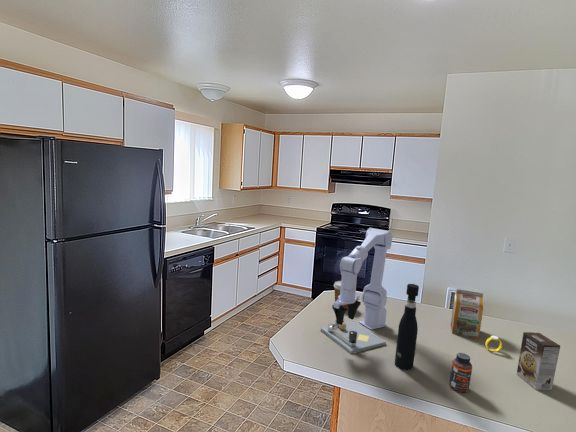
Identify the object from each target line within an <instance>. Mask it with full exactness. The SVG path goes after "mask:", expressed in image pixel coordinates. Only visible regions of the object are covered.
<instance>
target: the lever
mask: <svg viewBox="0 0 576 432" xmlns="http://www.w3.org/2000/svg"><path fill="white" fill-rule="evenodd" d="M327 327H328V329H327V330H328V331H329V332H332V333H334V334H335V335H336V336H338V337H339V338H340V339H342V340H343V341H344V342H346V343H347V344H349V345H350V346H351V347H352V346H356V341H357V332H355V331H350V332H349V336H347V335H346V334H345V333H343V332H342V331H340V330H339V329H337V325H335V324H333V323H330V324H328V325H327Z"/></svg>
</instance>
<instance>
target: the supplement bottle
mask: <svg viewBox="0 0 576 432" xmlns="http://www.w3.org/2000/svg"><path fill="white" fill-rule="evenodd" d="M472 370H473V364H472V363H471V356H470V355H469V354H467V353H464V352H457V353H456V356H455V358H453V359H452V362H451V367H450V374H449V380H448V381H449V382H448V385H449V387H450V388H451V389H453V390H454V391H456V392H459V393H467V392H469V389H470V384H471V379H472Z"/></svg>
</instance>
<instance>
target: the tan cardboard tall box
mask: <svg viewBox="0 0 576 432" xmlns="http://www.w3.org/2000/svg"><path fill="white" fill-rule="evenodd" d="M452 304H453V305H452V311H451V319H450V329H451V334H453V335H458V336H463V337H467V338H471V339H478V340H479V339H480V332H481V327H482V319H483V312H484V293H483V292H479V291H474V290H467V289H461V288H456V290H455V293H454V298H453V303H452Z"/></svg>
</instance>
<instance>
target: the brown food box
mask: <svg viewBox="0 0 576 432" xmlns="http://www.w3.org/2000/svg"><path fill="white" fill-rule="evenodd" d="M560 350H561V345H560V344H558V343H557V342H555V341H553V340H552V339H550V338H548V337H547V336H545V335H544V334H543V333H541V332H531V331H529V332H528V331H527V332H526V331H523V333H522V340H521V346H520V351H519V358H518V363H517V369H516V375H517V376H518V377H519V378H521V379H522V380H523V381H524V382H525V383H527V384H528V385H529V386H530V387H532V388H533V389H534V390H535V391H552V390H553V386H554V385H553V384H554V380H555V376H556V375H555V374H556V370H557V364H558V359H559V357H560V356H559V355H560V352H561V351H560Z"/></svg>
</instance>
